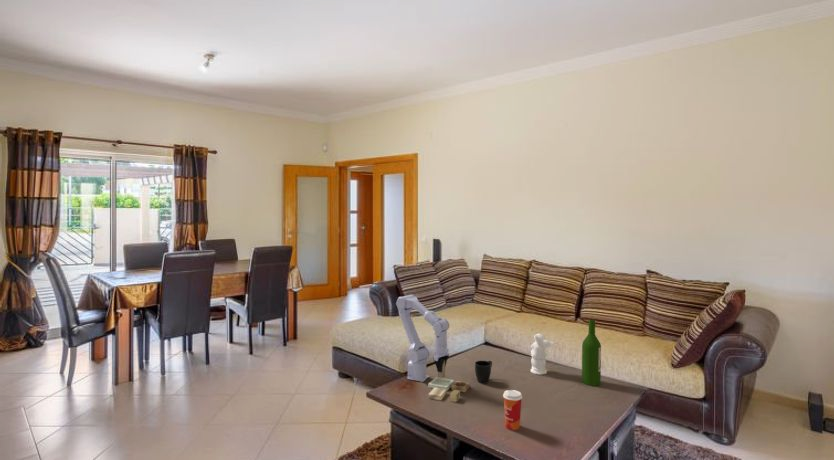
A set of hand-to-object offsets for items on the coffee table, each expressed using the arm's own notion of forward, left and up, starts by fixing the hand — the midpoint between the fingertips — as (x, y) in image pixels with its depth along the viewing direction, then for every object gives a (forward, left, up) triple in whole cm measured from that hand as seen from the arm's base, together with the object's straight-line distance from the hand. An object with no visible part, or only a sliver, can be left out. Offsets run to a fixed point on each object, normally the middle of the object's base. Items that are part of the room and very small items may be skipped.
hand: (441, 370), depth 216 cm
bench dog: (+12, -12, -8) cm, 19 cm away
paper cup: (+42, -26, -8) cm, 50 cm away
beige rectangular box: (+3, -12, -8) cm, 15 cm away
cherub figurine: (+43, +39, -8) cm, 59 cm away
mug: (+18, +16, -8) cm, 25 cm away
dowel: (0, 0, -3) cm, 3 cm away
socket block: (+10, +1, -8) cm, 13 cm away
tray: (0, 0, -8) cm, 8 cm away
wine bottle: (+68, +36, -8) cm, 77 cm away
